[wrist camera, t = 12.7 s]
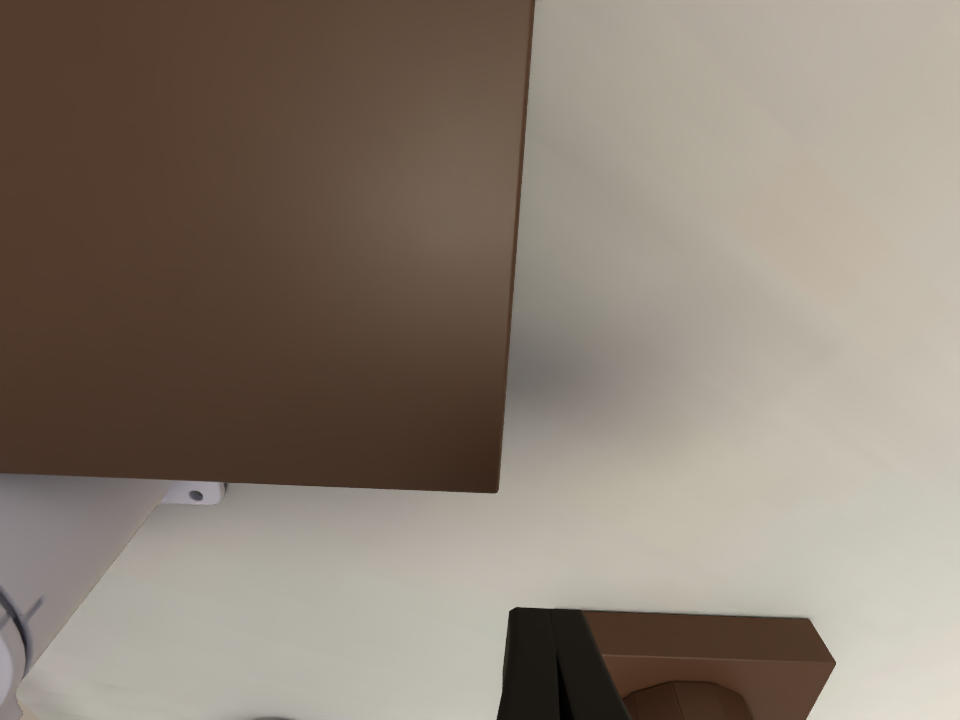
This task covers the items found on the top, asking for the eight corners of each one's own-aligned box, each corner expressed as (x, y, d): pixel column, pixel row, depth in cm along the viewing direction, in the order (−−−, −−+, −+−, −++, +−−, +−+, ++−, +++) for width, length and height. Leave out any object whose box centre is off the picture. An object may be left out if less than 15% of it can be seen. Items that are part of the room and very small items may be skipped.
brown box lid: (497, 474, 13) (498, 494, 12) (-55, 451, 12) (-89, 471, 12) (563, -435, 7) (572, -503, 7) (-401, -508, 7) (-506, -586, 6)
